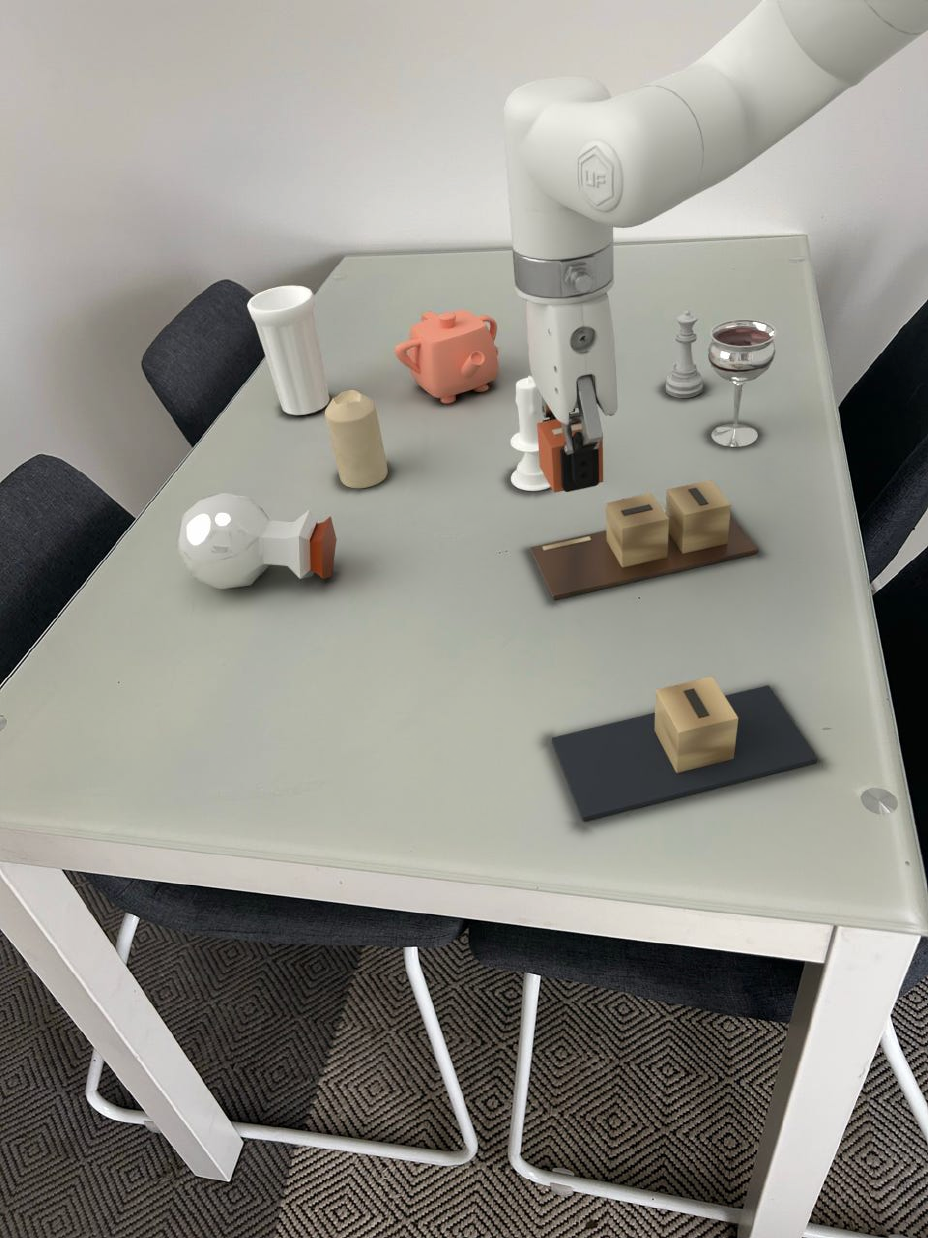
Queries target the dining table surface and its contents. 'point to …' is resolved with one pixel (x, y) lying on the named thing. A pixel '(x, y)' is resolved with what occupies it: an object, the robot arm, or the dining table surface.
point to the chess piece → (685, 362)
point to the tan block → (695, 724)
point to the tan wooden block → (697, 516)
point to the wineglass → (740, 367)
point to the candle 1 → (356, 439)
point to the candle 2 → (528, 437)
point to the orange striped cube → (557, 451)
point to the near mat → (642, 773)
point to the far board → (597, 567)
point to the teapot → (451, 353)
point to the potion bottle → (250, 542)
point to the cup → (291, 347)
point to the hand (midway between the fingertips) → (571, 469)
